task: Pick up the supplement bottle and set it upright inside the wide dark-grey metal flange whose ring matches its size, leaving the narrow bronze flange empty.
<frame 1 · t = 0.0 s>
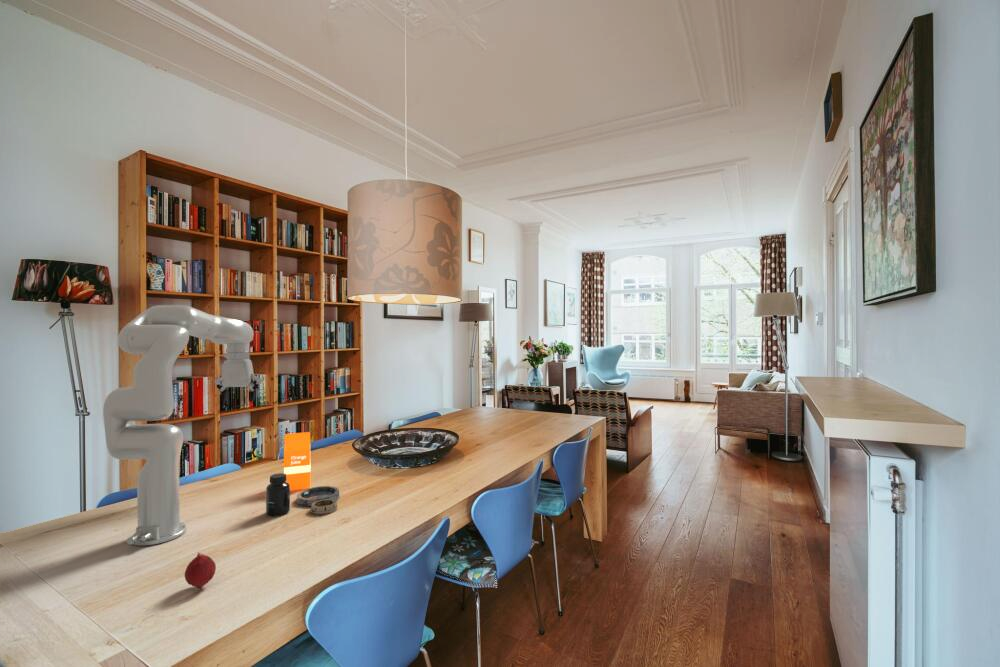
hand: (238, 401, 172), 31 cm above the table, fingers open, 9 cm apart
wide flange: (318, 499, 155), on the table
onion: (200, 588, 102), on the table
orange juice: (297, 486, 168), on the table
narrow flange: (324, 510, 146), on the table
supplement bottle: (278, 513, 144), on the table
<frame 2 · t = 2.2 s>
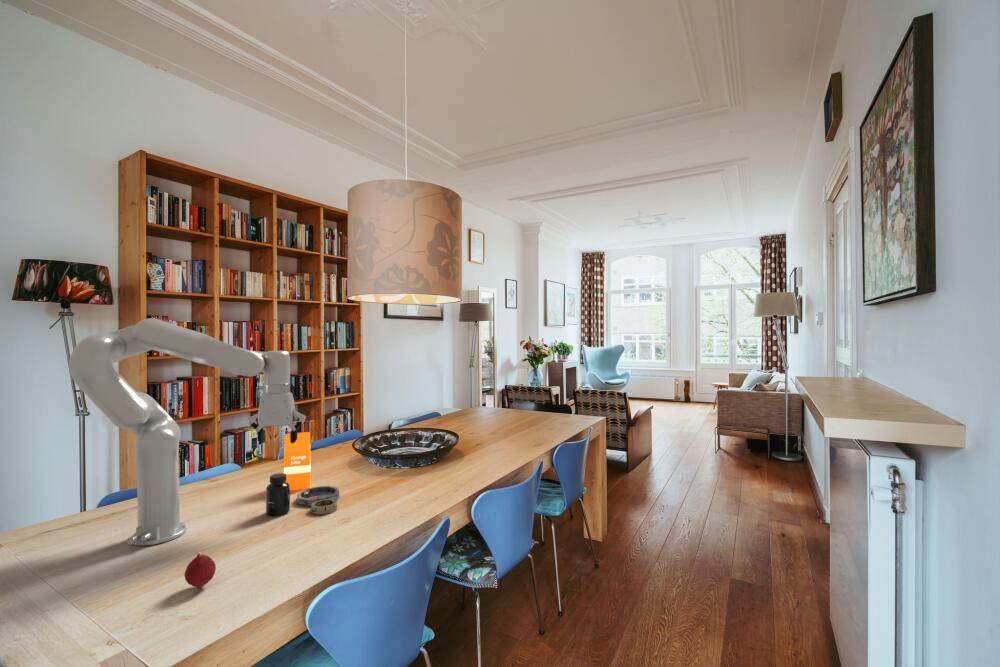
hand: (277, 442, 144), 22 cm above the table, fingers open, 9 cm apart
nothing on the table moved.
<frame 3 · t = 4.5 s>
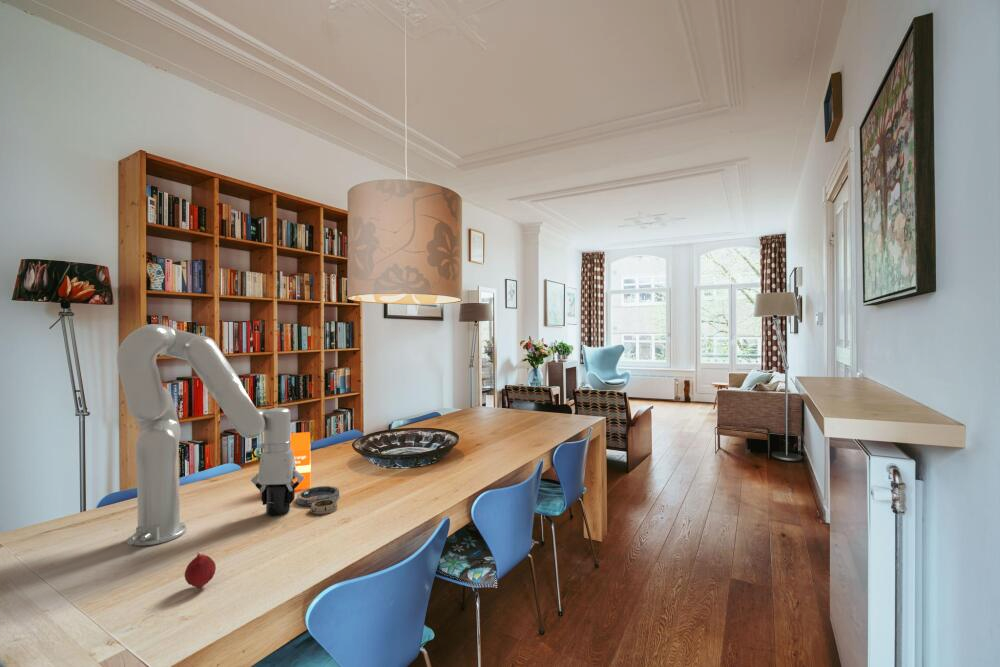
hand: (278, 502, 144), 3 cm above the table, fingers closed on supplement bottle, 6 cm apart
supplement bottle: (278, 513, 144), on the table, touching gripper
everything else where it was.
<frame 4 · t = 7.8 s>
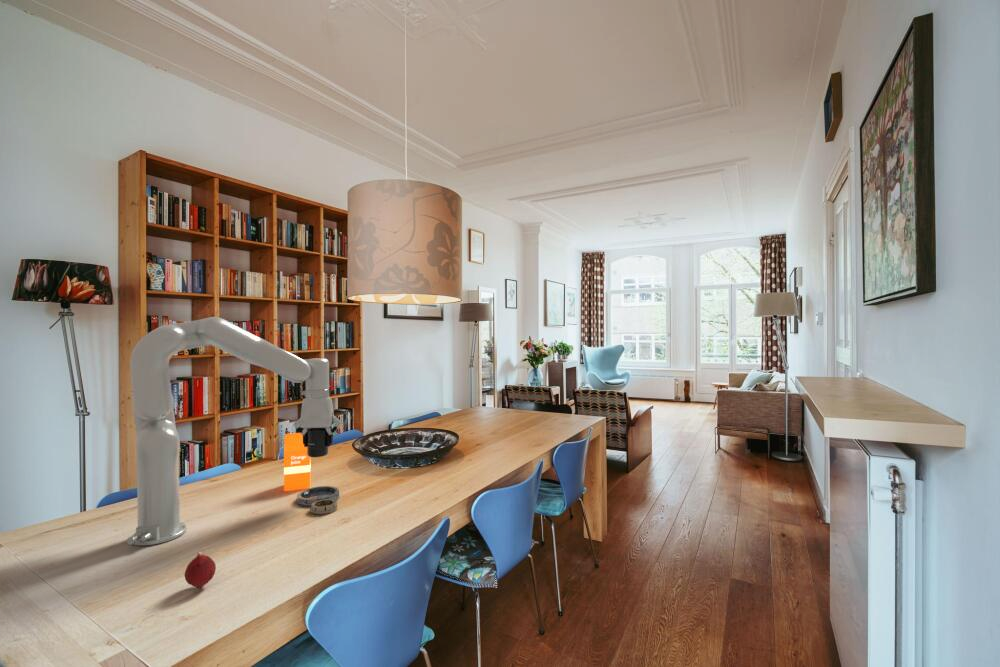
hand: (317, 445, 155), 19 cm above the table, fingers closed on supplement bottle, 6 cm apart
supplement bottle: (318, 455, 155), point 15 cm above the table, touching gripper
everything else where it was.
when the fingers open (5 cm above the table, at t = 11.0 s): supplement bottle drops 1 cm, resting on wide flange.
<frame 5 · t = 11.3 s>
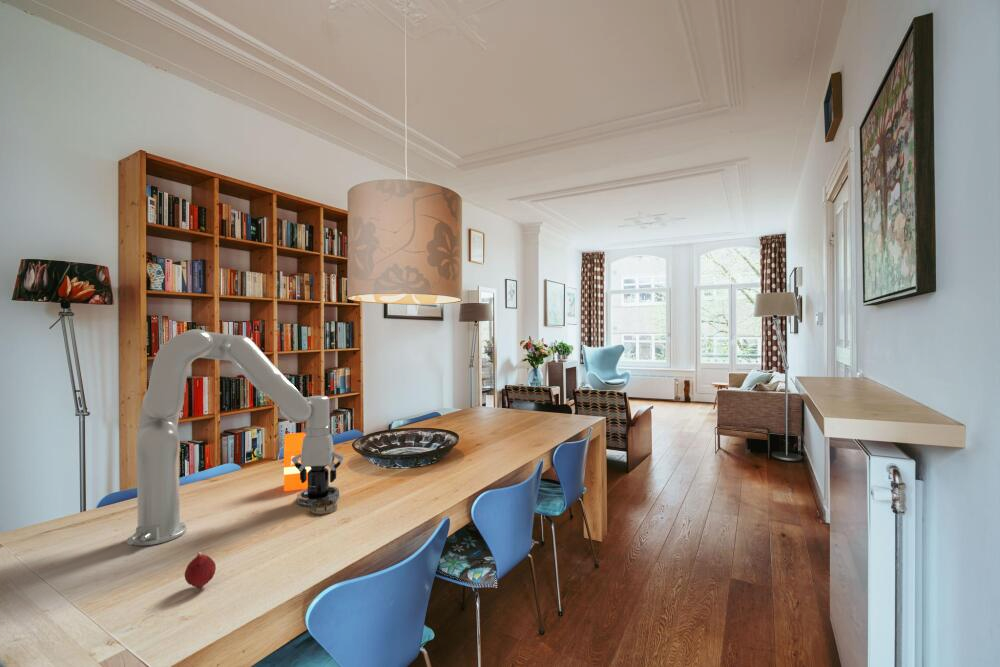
hand: (318, 481, 155), 6 cm above the table, fingers open, 9 cm apart
supplement bottle: (318, 496, 155), point 1 cm above the table, touching wide flange
everything else where it was.
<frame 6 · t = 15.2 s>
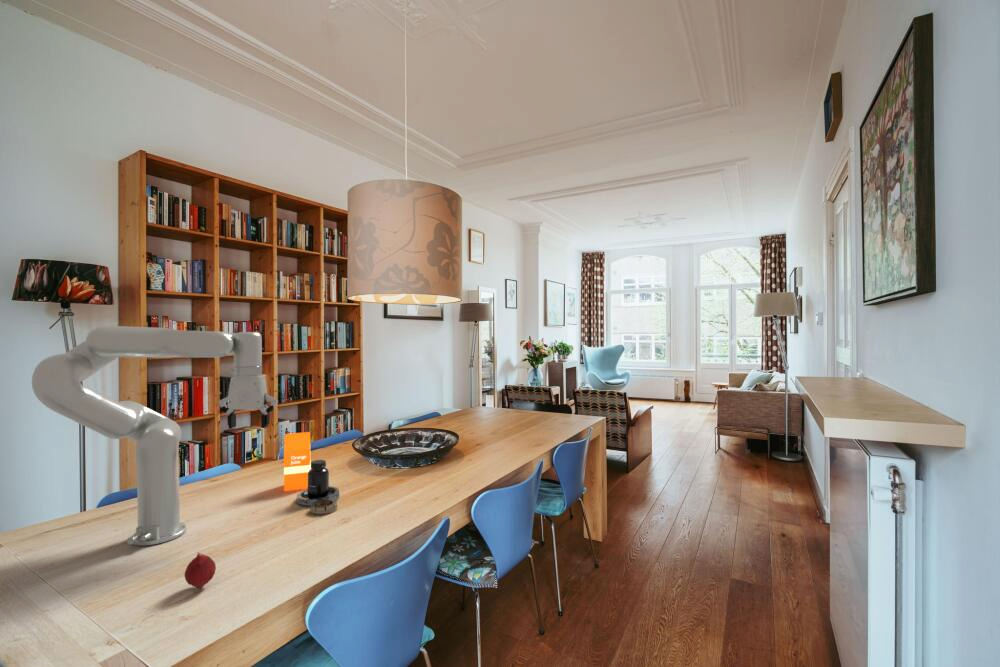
hand: (248, 427, 139), 28 cm above the table, fingers open, 9 cm apart
nothing on the table moved.
at the end: supplement bottle 0.1 cm off-centre on the wide flange, point 0.8 cm above the wide flange's base; supplement bottle tilted 0°; the gripper is holding nothing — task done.
